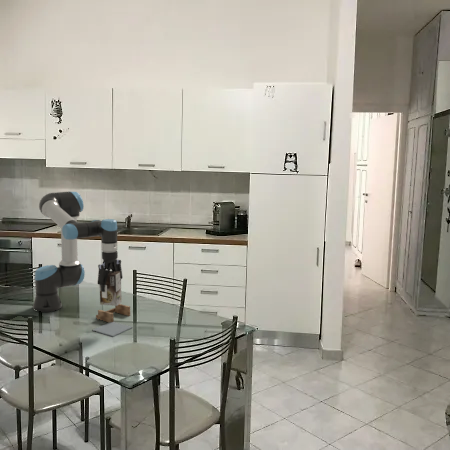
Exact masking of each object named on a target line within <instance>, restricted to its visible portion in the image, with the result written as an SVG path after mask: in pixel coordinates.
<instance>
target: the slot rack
mask: <svg viewBox="0 0 450 450" xmlns="http://www.w3.org/2000/svg"><path fill="white" fill-rule="evenodd" d="M114 313H118V314H120V315H124V316H126V317H127V316H128V317H129V316H131V306H129V305H126V304H122V303H120V304H119V305H117V306H114V307H113V308H111V309H108V310H102V309H98V310H97V314H96V315H95V319H96V318H97V320H99V319H100V321H102V320H103V322H107V323H109V322H115V321H114Z"/></svg>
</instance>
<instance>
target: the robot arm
mask: <svg viewBox="0 0 450 450" xmlns="http://www.w3.org/2000/svg"><path fill="white" fill-rule="evenodd" d="M38 208H39V210H40V213H41V214H42V216H45V217H46V218H49V219H51V221H53V222H54V223H55V224H56V225H57V226H58V227H59V228H60V237H61V238H60V239H61V240H60V242H61V260H60V261H59V263H58V267H57V266H56V265H55V264H50V265H44V266H40V267H38V268H37V269H36V270H35V272H34V283H35V284H34V286H35V288H34V289H35V298H34V302H33V304H32V310H33V309H35V310H37V311H41V312H40V313H50V311H52V312H55V310H56V311H58V310H61V308H62V307H63V306H62V305H63V303H62V301H61V298H60V296H59V292H58V290H59V289H61V288H67V287H75V286H77V285H80V284H82V283H83V282H84V279H85V275H86V274H85V272H86V270H85V267H84V265H83V264H82V263H81V261H80V260H79V259H78V239H84V238H85V239H86V238H93V237H94V238H95V237H101V259H102V260H103V262H102V263H101V264H98V265H97V267H98V274H97V285H98V286H100V285H101V291H102V297H103V298H107V285H106V281H107V277H108V273H109V272H110V271H115V272H116V271H120V272H121V280H122V279H123V270H122V260H121V259H118V258H119V256H118V253H119V252H118V223H117V222H118V221H117V220H116V219H112V218H104V219H102V220H100V219H93V220H92V221H85V222H78V221H77V219H78V218H79V217H80V213H81V212H83V210H84V200H83V198H82V196H81V194H80V193H79V192H77V191H62V192H61V191H58V192H49V193H46V194H45V195H44V196H42V197H41V199H40V200H39V204H38ZM103 282H104V283H103ZM37 311H36V312H37Z"/></svg>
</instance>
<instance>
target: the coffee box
mask: <svg viewBox="0 0 450 450" xmlns="http://www.w3.org/2000/svg"><path fill="white" fill-rule="evenodd" d="M103 283H104V282H103ZM106 285H107V298H103V297H102V291H101V285H99V305H101V306H102V305H103V306H111V307H112V306H114V307H115V306H117V305H119V304H122V279H121V272H120V271H116V272H115V271H112V270H110V272H109V273H108V277H107V281H106Z"/></svg>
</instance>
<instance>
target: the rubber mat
mask: <svg viewBox="0 0 450 450" xmlns="http://www.w3.org/2000/svg"><path fill="white" fill-rule="evenodd" d="M133 328H134V327H133V326H131V325H126V324H124V323H120V322H116V321H114V322H107V323H105V324H103V325H100V326H98V327H95V328H94V329H92V330H93V331H92V332H95V331H96V332H95V333H99V334H103V335H105V336H109V337H112V338H113V337H114V338H115V337H116V336H118V335H121V334H123V333H124V332H127V331H129V330H132V329H133Z"/></svg>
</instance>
